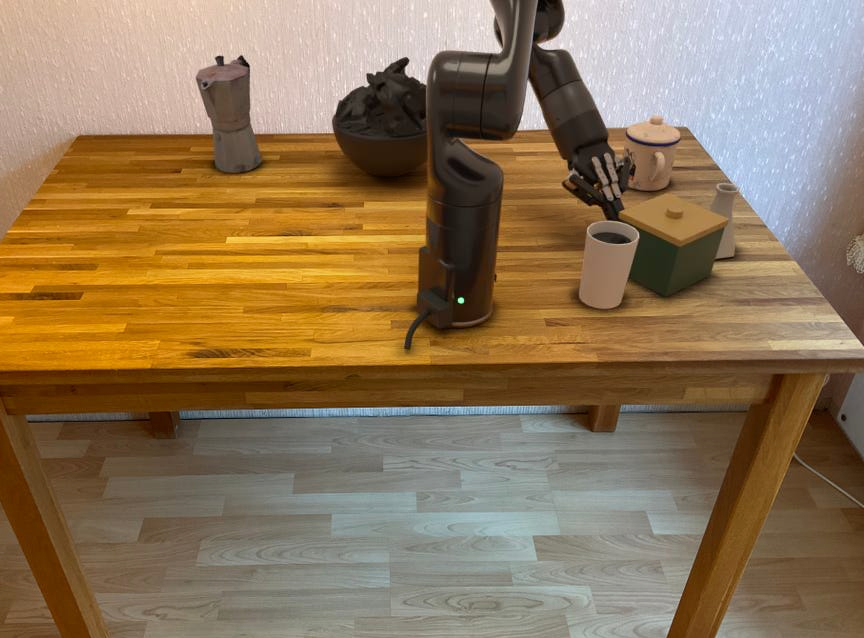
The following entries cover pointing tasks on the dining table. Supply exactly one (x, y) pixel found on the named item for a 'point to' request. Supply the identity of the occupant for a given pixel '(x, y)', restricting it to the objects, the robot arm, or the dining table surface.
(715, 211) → the flask
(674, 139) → the teacup with lid
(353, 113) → the bowl of black rocks
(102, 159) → the dining table surface
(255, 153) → the moka pot
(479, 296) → the robot arm
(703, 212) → the tea tin
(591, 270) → the white tumbler cup
